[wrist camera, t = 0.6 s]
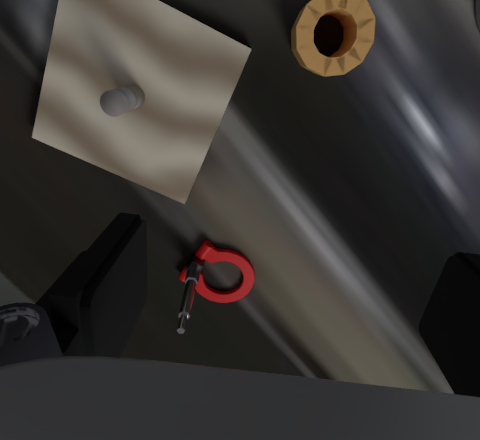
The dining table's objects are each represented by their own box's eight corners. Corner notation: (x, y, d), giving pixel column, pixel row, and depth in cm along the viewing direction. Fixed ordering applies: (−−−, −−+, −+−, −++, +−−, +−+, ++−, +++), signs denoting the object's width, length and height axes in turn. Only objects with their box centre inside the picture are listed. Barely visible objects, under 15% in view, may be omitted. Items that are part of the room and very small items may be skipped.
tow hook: (266, 267, 46) (208, 232, 44) (274, 342, 35) (196, 300, 32) (231, 306, 49) (175, 276, 47) (227, 387, 38) (153, 352, 35)
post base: (75, -44, 32) (26, -70, 25) (251, 49, 34) (250, 47, 28) (39, 134, 39) (-6, 151, 32) (186, 199, 42) (173, 227, 35)
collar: (312, -17, 32) (321, -28, 27) (372, 18, 33) (390, 12, 28) (279, 54, 34) (283, 54, 30) (335, 84, 35) (347, 88, 31)
